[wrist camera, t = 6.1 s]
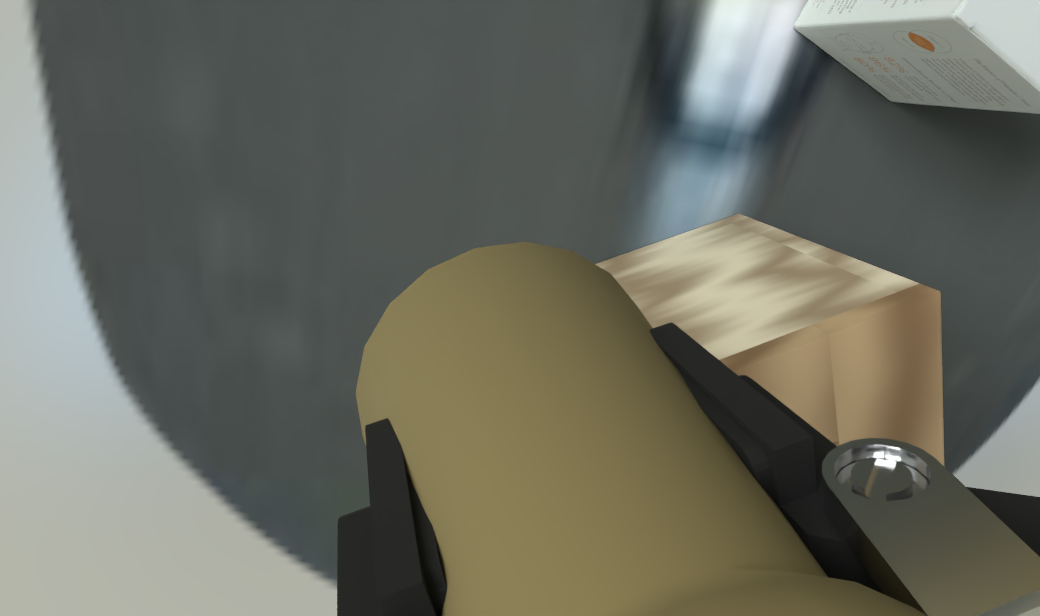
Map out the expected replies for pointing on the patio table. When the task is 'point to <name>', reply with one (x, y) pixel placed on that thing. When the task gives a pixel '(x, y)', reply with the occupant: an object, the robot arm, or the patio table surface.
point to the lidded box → (801, 326)
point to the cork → (576, 454)
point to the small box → (935, 49)
